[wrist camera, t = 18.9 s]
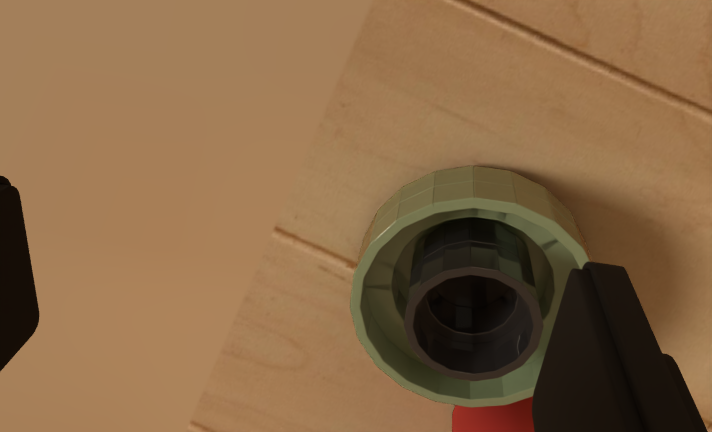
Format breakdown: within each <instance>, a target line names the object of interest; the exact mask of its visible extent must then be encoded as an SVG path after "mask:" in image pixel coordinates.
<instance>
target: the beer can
mask: <svg viewBox="0 0 712 432" xmlns="http://www.w3.org/2000/svg"><path fill="white" fill-rule="evenodd" d="M532 399H533V396H532V397H529V398H526V399H523V400H520V401H517V402H514V403H511V404H508V405H507V404H506V405H501V406H486V407H472V408H471V407H464V406H458V405H456V406H455V408H454V411H453V413H452V432H535V431H534V424H533V418H532Z"/></svg>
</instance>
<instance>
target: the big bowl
mask: <svg viewBox="0 0 712 432" xmlns="http://www.w3.org/2000/svg"><path fill="white" fill-rule="evenodd" d="M465 219H476V220H483V221H490V222H494V223H496V224H498V225H500V226H501V227H503V228H505V229H507V230H508V231H510V232H512V233H514V234H515V235H516V236H517V237H518V239H519V240H520V241H521V242H522V244H523V245H524V246H525V248H526V249H527V250H528V252H529V255H530V260H531V264H532V269H533V274H534V279H535V284H536V289H537V294H538V299H539V304H540V309H541V314H542V319H543V324H544V326H543V331H542V335H541V338H540V342H539V346H538V348H537V350H536V351H535V352H534V353H533V354H532V355H531V357H530V358H529V359H528V360H527V361H526V362H525V363H524V365H523V366H521V367H520V368H518V369H516V370H514V371H512V372H510V373H508V374H506V375H504V376H502V377H499V378H495V379H488V380H480V381H468V380H462V379H457V378H451V377H447V376H445V375H443V374H441V373H440V372H438V371H436V370H434V369H432V368H430V367H428V366H427V365H425V364H424V362H423V361H422V360H421V359H420V358H419V357H418V356H417V355H416V353H415V352H414V351H413V350H412V349H411V347H410V345H409V342H408V339H407V336H406V332H405V329H404V318H405V310H406V302H407V295H408V287H409V279H410V272H411V265H412V259H413V254H414V252H415V251H416V249H417V248H418V246H419V245H420V243H421V242H422V241H423V239H424V238H425V237H426V235H428V234H430V233H431V232H433V231H434V230H436V229H437V228H439V227H441V226H442V225H444V224H446V223H451V222H456V221H460V220H465ZM587 261H589V262H592V259H591V256H590V254H589V251H588V248H587V246H586V243H585V240H584V238H583V236H582V234H581V232H580V230H579V228H578V226H577V224H576V222H575V220H574V218H573V216H572V214H571V212H570V211H569V210H568V209H567V208H566V207H565V206H564V205H563V204H562V203H561V202H560V201H559V200H558V199H557V198H556V197H555V196H554V195H553V194H552V193H551V192H550V191H548V190H547V189H546V188H544V186H541V185H539V184H537V183H535V182H533V181H531V180H529V179H527V178H524V177H522V176H520V175H518V174H516V173H514V172H511V171H507V170H500V169H493V168H486V167H479V166H467V167H460V168H454V169H447V170H440V171H436V172H433V173H431V174H429V175H426V176H424V177H422V178H420V179H418V180H416V181H414V182H412V183H410V184H407V185H405V186H403V188H401V189H400V190H399V191H398V192H397V193H396V194H395V195H394V196H393V197H391V198H390V199H389V200H388V201H387V202H386V203H385V204H384V205H383V206H382V207H381V208H380V209H379V210H378V211H377V213H376V215H375V217H374V219H373V221H372V223H371V225H370V227H369V229H368V231H367V233H366V234H365V236H364V239H363V243H362V246H361V250H360V254H359V257H358V261H357V264H356V268H355V271H354V275H353V282H352V291H351V300H350V310H351V314H352V318H353V322H354V326H355V330H356V334H357V337H358V339H359V341H360V342H361V344H362V345H363V347H364V348H365V350H366V351H367V353H368V354H369V356H370V357H371V359H372V360H373V362H374V363H375V365H376V366H377V367H378V368H380V369H381V370H382V371H383V372H385V373H386V374H387V375H388V376H389V377H391V378H392V379H393V380H394V381H396V382H397V383H398V384H399V385H400V386H403V388H406V389H408V390H410V391H412V392H415V393H417V394H419V395H421V396H424V397H426V398H428V399H430V400H433V401H435V402H441V403H447V404H452V405H458V406H464V407H471V408H472V407H486V406H501V405H506V404H507V405H508V404H511V403H514V402H517V401H520V400H523V399H526V398H529V397H532V396H533V393H534V389H535V386H536V383H537V379H538V376H539V373H540V369H541V366H542V363H543V359H544V356H545V353H546V349H547V346H548V343H549V339H550V336H551V333H552V329H553V326H554V323H555V319H556V316H557V313H558V309H559V306H560V303H561V299H562V296H563V293H564V289H565V286H566V283H567V279H568V276H569V273H570V271H571V270H572V269H573V268H576V269H582V267H583V266H584V264H585V263H586V262H587Z"/></svg>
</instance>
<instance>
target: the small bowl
mask: <svg viewBox="0 0 712 432" xmlns="http://www.w3.org/2000/svg"><path fill="white" fill-rule="evenodd" d="M543 326H544V324H543V319H542V314H541V309H540V304H539V299H538V294H537V289H536V284H535V279H534V274H533V269H532V264H531V260H530V255H529V252H528V250H527V249H526V248H525V246H524V245H523V244H522V242H521V241H520V240H519V239H518V237H517V236H516V235H515V234H514V233H512V232H510V231H508V230H507V229H505V228H503V227H501V226H500V225H498V224H496V223H494V222H490V221H483V220H476V219H465V220H460V221H456V222H451V223H446V224H444V225H442V226H441V227H439V228H437V229H436V230H434V231H433V232H431V233H430V234H428V235H426V237H425V238H424V239H423V241H422V242H421V243H420V245H419V246H418V248H417V249H416V251H415V252H414V254H413V259H412V265H411V272H410V279H409V287H408V295H407V302H406V310H405V318H404V329H405V332H406V336H407V339H408V342H409V345H410V347H411V349H412V350H413V351H414V352H415V353H416V355H417V356H418V357H419V358H420V359H421V360H422V361H423V362H424V364H425V365H427V366H428V367H430V368H432V369H434V370H436V371H438V372H440V373H441V374H443V375H445V376H447V377H451V378H457V379H462V380H468V381H480V380H488V379H495V378H499V377H502V376H504V375H506V374H508V373H510V372H512V371H514V370H516V369H518V368H520V367H521V366H523V365H524V363H525V362H526V361H527V360H528V359H529V358H530V357H531V355H532V354H533V353H534V352H535V351H536V350H537V348H538V346H539V342H540V338H541V335H542V331H543Z"/></svg>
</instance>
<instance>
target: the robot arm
mask: <svg viewBox="0 0 712 432" xmlns="http://www.w3.org/2000/svg"><path fill="white" fill-rule="evenodd" d="M38 322H39V308H38V303H37V297H36V290H35V285H34V278H33V272H32V266H31V260H30V254H29V248H28V242H27V236H26V230H25V224H24V218H23V212H22V206H21V200H20V195H19V192H18V190H17V188H15V187H14V186H11V183H10V182H9V180H8V179H7V178H5V177H4V176H0V371H1V370H2V369H3V368H4V366H5V365H6V364H7V363H8V362H9V361H10V360H11V359H12V357H13V356H14V355H15V354H16V353H17V352H18V351H19V350H20V348H21V347H22V346H23V345H24V344H25V343H26V342H27V341H28V339H29V338H30V337H31V336H32V335H33V333H34V332H35V330H36V328H37V325H38ZM532 418H533V424H534V431H535V432H708V431H707V429H706V427H705V425H704V422H703V420H702V418H701V416H700V414H699V411H698V409H697V407H696V405H695V403H694V400H693V398H692V396H691V394H690V392H689V389H688V387H687V385H686V383H685V381H684V378H683V376H682V374H681V372H680V370H679V367H678V365H677V363H676V362H675V360H674V359H673V357H671V356H670V355H668V354H663V353H662V352H661V350H660V347H659V345H658V343H657V340H656V338H655V336H654V334H653V331H652V329H651V327H650V324H649V322H648V320H647V317H646V315H645V313H644V311H643V308H642V306H641V304H640V301H639V299H638V297H637V294H636V292H635V290H634V287H633V285H632V283H631V281H630V278H629V276H628V274H627V271H626V270H625V268H624V267H622V266H616V265H609V264H602V263H595V262H589V261H587V262H586V263H585V264H584V266H583V267H582V269H576V268H573V269H572V270H571V271H570V273H569V276H568V279H567V283H566V286H565V289H564V293H563V296H562V299H561V303H560V306H559V309H558V313H557V316H556V319H555V323H554V326H553V329H552V333H551V336H550V339H549V343H548V346H547V349H546V353H545V356H544V359H543V363H542V366H541V369H540V373H539V376H538V379H537V383H536V386H535V389H534V393H533V399H532Z"/></svg>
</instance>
